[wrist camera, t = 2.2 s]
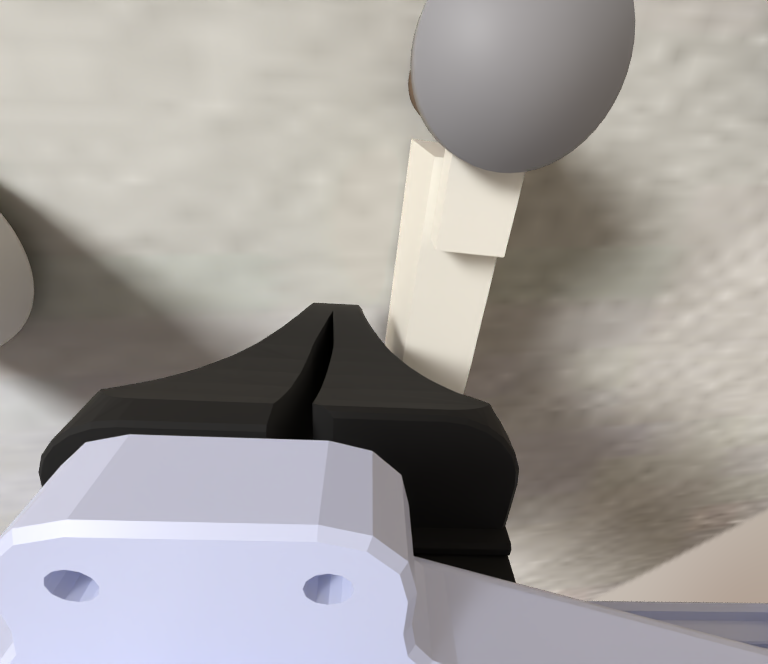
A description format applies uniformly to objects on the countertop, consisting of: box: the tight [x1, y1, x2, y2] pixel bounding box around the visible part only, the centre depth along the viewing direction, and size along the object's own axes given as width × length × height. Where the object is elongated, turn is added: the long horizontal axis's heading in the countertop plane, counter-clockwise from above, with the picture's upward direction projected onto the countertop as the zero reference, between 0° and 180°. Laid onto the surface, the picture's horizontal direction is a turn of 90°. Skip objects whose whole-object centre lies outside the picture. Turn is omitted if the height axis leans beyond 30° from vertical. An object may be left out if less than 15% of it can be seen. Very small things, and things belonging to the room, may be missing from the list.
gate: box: [385, 0, 635, 395], centre depth 10 cm, size 12×3×6 cm, turn 174°
